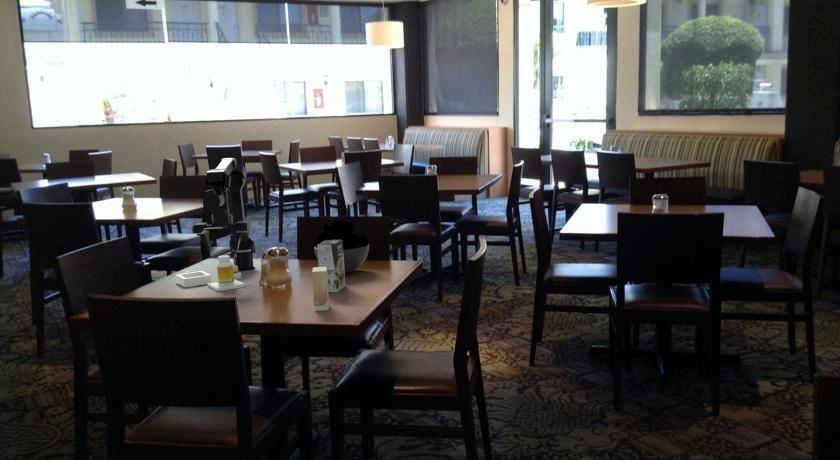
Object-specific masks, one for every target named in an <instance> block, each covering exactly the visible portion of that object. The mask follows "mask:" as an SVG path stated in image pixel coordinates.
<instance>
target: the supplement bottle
mask: <svg viewBox="0 0 840 460" xmlns="http://www.w3.org/2000/svg"><path fill="white" fill-rule="evenodd" d="M217 260H218V262H217V263H216V272H217V273H216V275H218V277H217V282H218V284H219V285H230V284H233V283H234V274H233V265H234V263H233V262H232V261H231V256H230V255H225V254H224V255H219V256H217Z"/></svg>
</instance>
